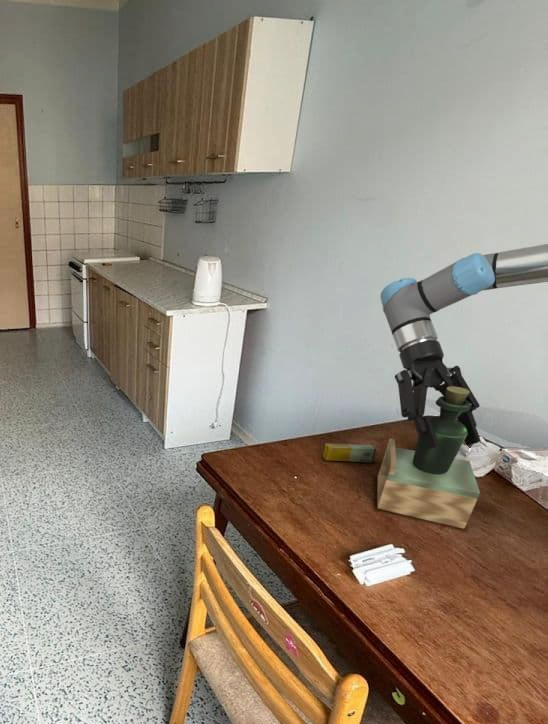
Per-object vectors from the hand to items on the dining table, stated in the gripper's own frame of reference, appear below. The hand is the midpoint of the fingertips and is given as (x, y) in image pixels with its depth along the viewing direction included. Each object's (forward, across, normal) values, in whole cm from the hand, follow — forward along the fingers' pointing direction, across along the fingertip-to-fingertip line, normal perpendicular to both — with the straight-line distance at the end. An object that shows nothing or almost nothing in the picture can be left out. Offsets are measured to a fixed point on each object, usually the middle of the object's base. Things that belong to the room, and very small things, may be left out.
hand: (453, 445), depth 96 cm
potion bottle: (+3, 0, -8) cm, 8 cm away
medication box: (-4, +4, -28) cm, 28 cm away
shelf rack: (+9, 0, -14) cm, 16 cm away
